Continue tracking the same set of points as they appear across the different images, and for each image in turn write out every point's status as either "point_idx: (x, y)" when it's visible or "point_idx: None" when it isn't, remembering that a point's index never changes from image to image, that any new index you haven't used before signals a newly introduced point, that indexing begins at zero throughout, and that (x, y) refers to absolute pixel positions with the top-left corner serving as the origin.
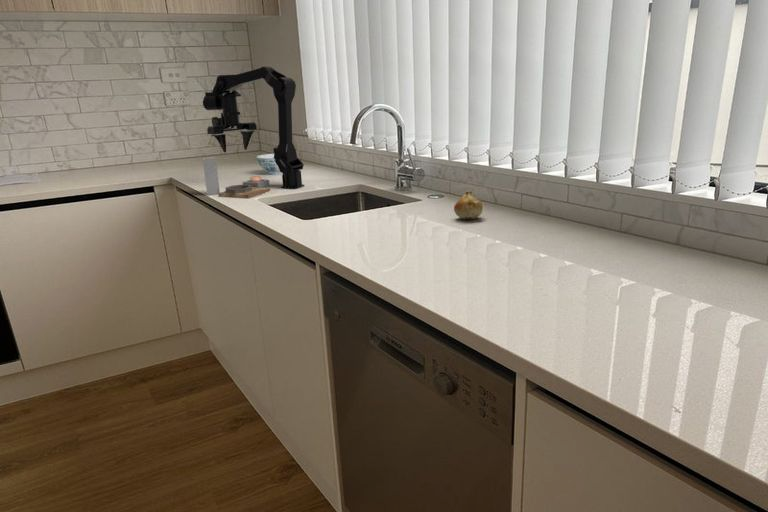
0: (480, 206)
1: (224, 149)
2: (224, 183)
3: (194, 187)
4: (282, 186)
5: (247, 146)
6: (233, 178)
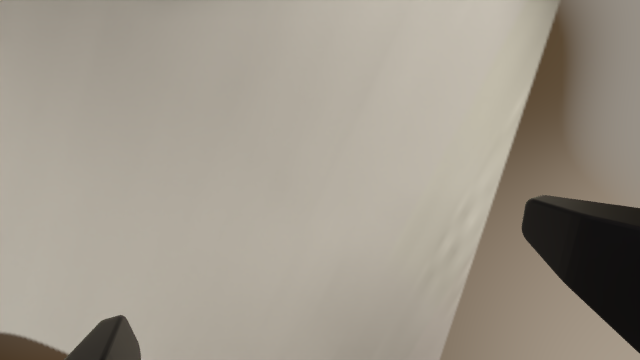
0: None
1: (596, 206)
2: (309, 217)
3: (491, 200)
4: None
5: (68, 358)
6: (185, 354)
